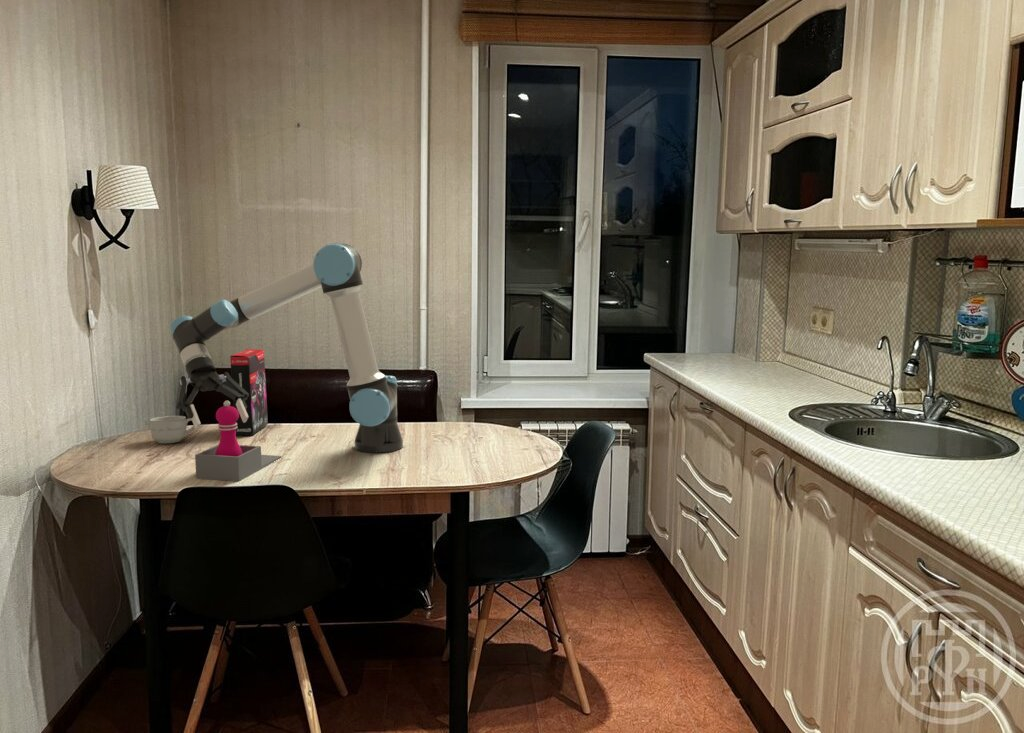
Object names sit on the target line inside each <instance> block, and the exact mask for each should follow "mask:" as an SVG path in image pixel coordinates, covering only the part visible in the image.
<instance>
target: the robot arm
mask: <svg viewBox="0 0 1024 733" xmlns="http://www.w3.org/2000/svg"><path fill="white" fill-rule="evenodd" d="M362 267H363V259H362V256H361V254H360V252H359V251H358V250H357V249H356V248H355V247H353V246H352V245H350V244H347V243H340V242H333V243H329V244H326V245H325V246H323V247H321V248H320V249H319V250H318V251H317V252H316V254H315V256H314V258H313V261H312V263H311V264H309V265H307V266H305V267H303V268H301V269H299V270H296V271H294V272H291V273H289V274H287V275H285V276H283V277H280V278H278V279H276V280H273V281H272V282H270V283H268V284H266V285H263V286H261V287H259V288H257V289H255V290H253V291H250V292H248V293H245V294H244V295H241V296H239V297H238V298H235V299H233V300H230V301H229V300H226V299H220V300H218V301H217V302H214V303H213V304H212V305H211V306H209V307H208V308H206V309H205V310H203V311H202V312H200V313H199V314H198V315H196V316H194V317H192V316H190V315H182V316H181V317H176V318H175V319H173V320H172V322H171V324H170V326H169V328H170V329H169V331H170V333H171V336H172V340H173V341H174V344H175V345H176V348H177V351H178V353H179V356H180V359H181V361H182V364H183V366H184V368H185V371H186V374H187V376H188V377H186V376H184V375H182V376H181V377H180V379H179V382H178V384H179V391H178V395H177V399H176V400H177V401H176V405H175V409H177V410H180V409H182V412H184V413H185V414H186V418H187V419H188V418H189V419H190V418H191V419H192V421H191V422H192V424H193V426H194V427H195V429H194V430H199V429H200V426H201V424H202V423H201V421H200V418H199V415H198V413H197V410H196V408H195V405H194V404H193V401H194V399H195V397H196V396H197V394H198V392H199V391H201V392H204V393H205V392H207V391H208V392H209V391H210V392H212V391H215V392H217V393H221V394H223V395H224V396H226V397H227V398H230V399H231V400H232V401H233V400H234V401H236V406H237V409H238V411H239V414H240V416H241V418H242V421H243V423H244V422H246V421H247V419H248V417H249V416H248V414H247V412H246V409H247V405H246V403H245V401H246V400H247V398H248V396H249V393H248V392H246V391H245V390H244V389H243V388H242V387H241V386H240V385H239V384H238V383H236V382H235V381H234V380H233V379H232V378H231V374H230V373H229V372H228V371H225V372H223V374H218V373H217V371H216V370H217V369H216V367H215V364H214V361H213V360H212V356H211V355H210V352H209V350H208V348H207V346H206V343H205V342H207V341H209V340H210V339H211V338H213V337H214V336H217V335H218V334H220V332H222V331H224V330H230V329H231V328H237V327H240V326H241V325H242V324H244V323H246V322H249V321H250V320H252V319H253V320H254V318H257V317H258V316H261V315H263V314H265V313H268V312H270V311H272V310H274V309H276V308H279V307H281V306H283V305H286V304H288V303H291V302H292V301H294V300H297V299H299V298H302V297H303V296H306V295H308V294H309V293H313V292H314V291H316V290H319V289H322V293H323V296H324V295H325V296H326V297H327V298H329V299H330V304H331V307H332V311H333V314H334V315H333V316H334V319H335V323H336V327H337V331H338V336H339V338H340V343H341V347H342V350H343V354H344V359H345V363H346V366H347V371H348V375H349V379H348V381H347V383H346V388H347V392H348V397H349V400H350V401H349V405H348V406H349V408H348V409H349V413H350V417H352V419H353V420H354V421H355V422H356V423H358V424H359V426H358V428H357V432H356V435H355V439H354V449H355V450H356V451H359V452H365V453H388V452H389V453H390V452H395V451H399V450H401V449H402V448H403V447H404V444H403V443H404V440H403V437H402V434H401V431H400V427H399V424H398V390H397V389H398V388H397V387H398V383H397V382H398V381H397V380H398V379H397V378H396V376H394V375H385V374H384V373H383V372H381V371H380V370H379V367H378V362H377V358H376V354H375V351H374V347H373V342H372V338H371V334H370V330H369V325H368V322H367V318H366V314H365V309H364V307H363V302H362V298H361V294H360V291H361V290H362V289H363V286H364V283H363V279H362V275H361V270H362ZM189 384H190V385H191V386H193V389H192V391H191V393H190V394H189V396H188V397H187V399H186V400H185V401H184V398H185V393H186V389H187V386H188V385H189Z"/></svg>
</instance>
